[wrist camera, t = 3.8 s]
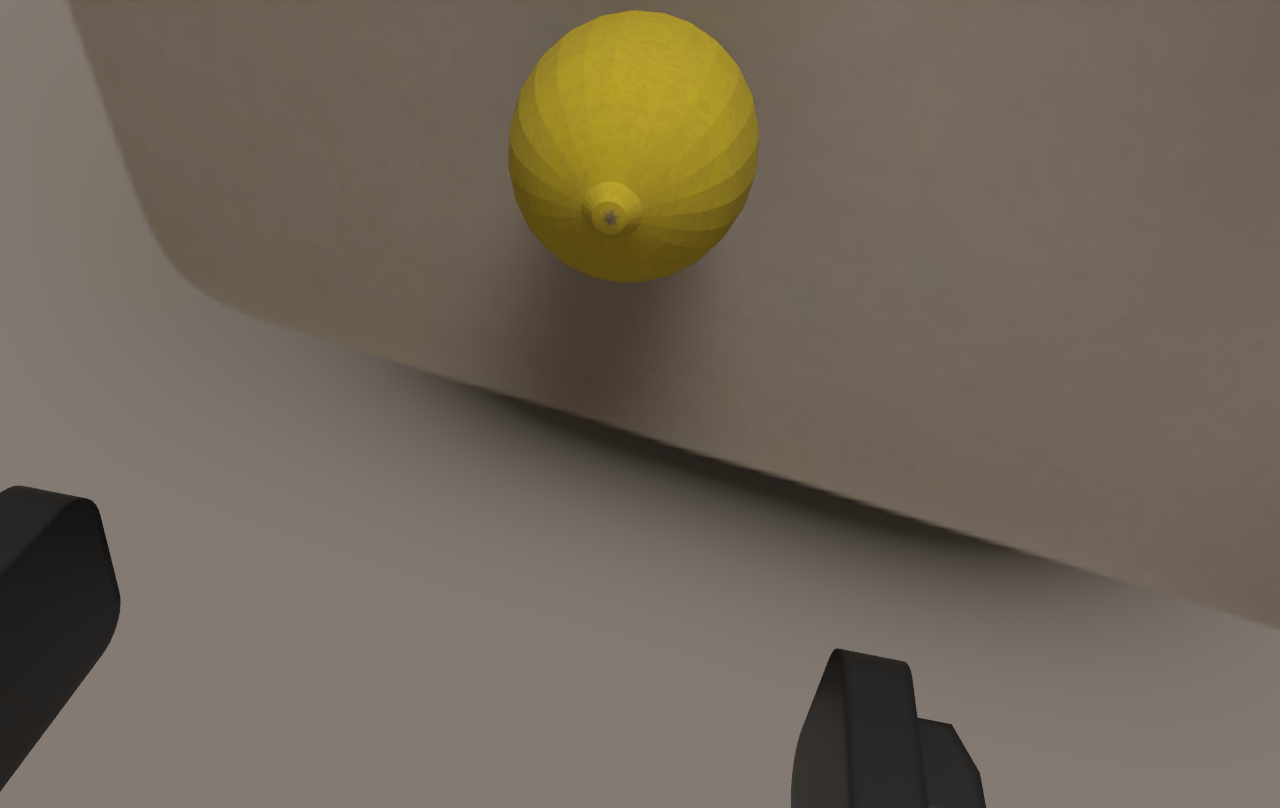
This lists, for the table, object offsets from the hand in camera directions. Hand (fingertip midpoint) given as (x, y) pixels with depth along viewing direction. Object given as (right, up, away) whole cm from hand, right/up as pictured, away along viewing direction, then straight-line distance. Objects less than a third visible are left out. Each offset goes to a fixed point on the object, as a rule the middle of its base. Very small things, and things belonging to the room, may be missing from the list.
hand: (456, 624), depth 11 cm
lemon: (+2, +11, +15) cm, 18 cm away
